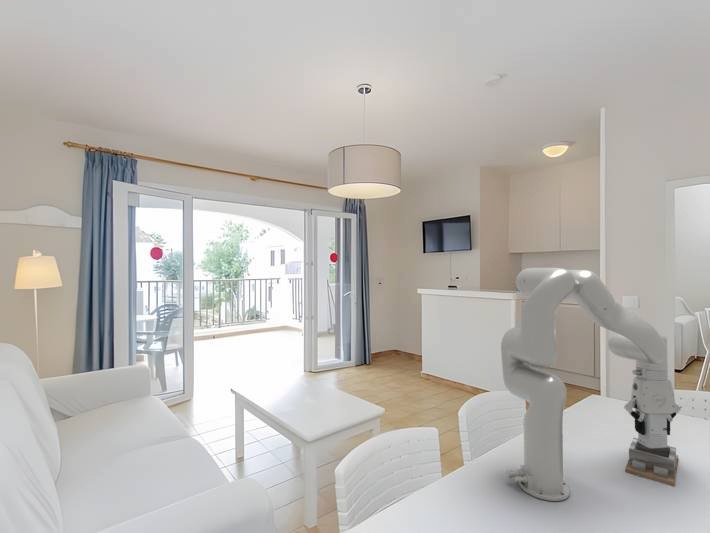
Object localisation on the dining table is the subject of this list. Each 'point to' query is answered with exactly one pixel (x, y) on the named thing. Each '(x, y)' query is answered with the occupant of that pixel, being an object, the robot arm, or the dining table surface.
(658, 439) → the skincare box
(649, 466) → the socket board
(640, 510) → the dining table surface
